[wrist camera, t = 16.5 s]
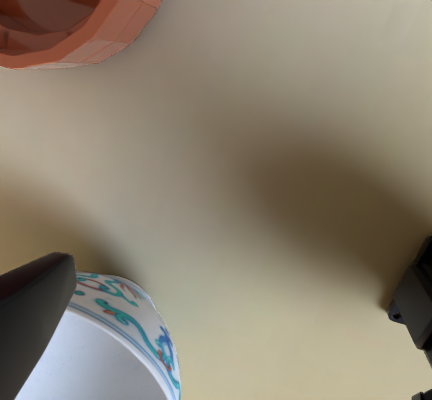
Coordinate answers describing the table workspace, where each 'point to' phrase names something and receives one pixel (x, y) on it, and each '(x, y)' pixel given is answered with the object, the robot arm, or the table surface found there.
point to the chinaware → (107, 347)
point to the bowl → (68, 31)
